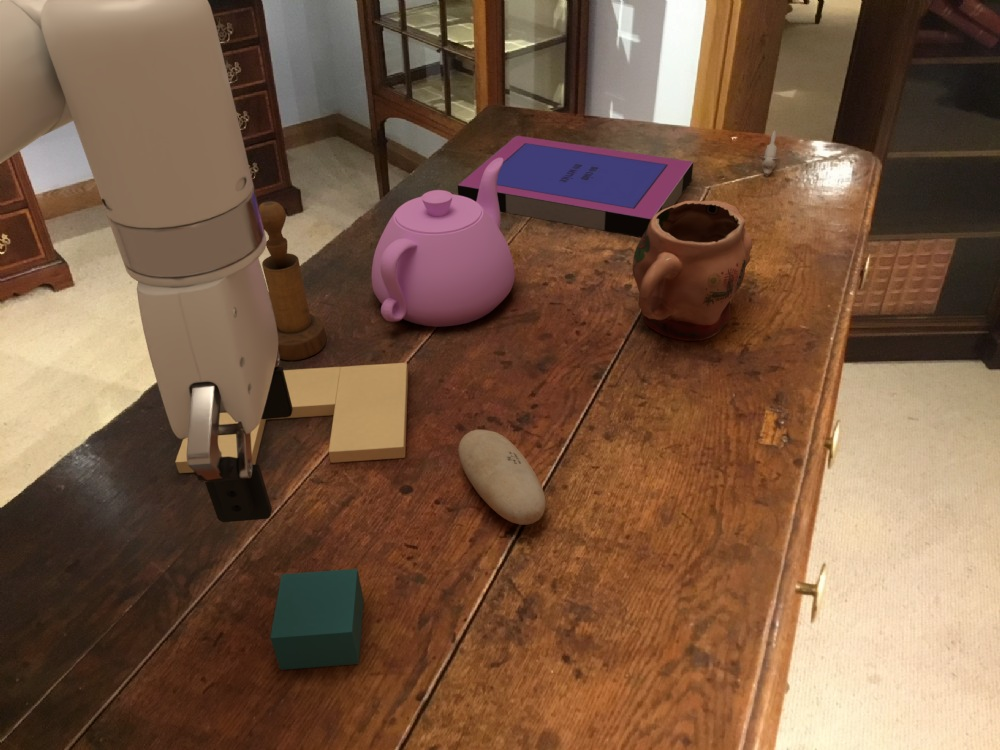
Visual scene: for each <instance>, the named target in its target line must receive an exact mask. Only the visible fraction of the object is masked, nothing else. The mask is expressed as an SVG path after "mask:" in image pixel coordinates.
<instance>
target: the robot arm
mask: <svg viewBox="0 0 1000 750" xmlns="http://www.w3.org/2000/svg"><path fill="white" fill-rule="evenodd" d="M221 45H222V44H221V41H220V38H219V33H218V28H217V25H216V21H215V18H214V14H213V10H212V7H211V4H210V2H209V0H0V165H1V164H2V163H4V162H5V161H7V160H8V159H9V158H11V157H13V156H14V155H16V154H17V153H18V152H19V153H20V151H22V150H23V149H24V148H26V147H27V146H29V145H30V144H33V142H35V141H37V140H38V139H39V138H41V137H43V136H46V135H47V134H49V133H51V132H54V131H55V130H58V129H60V128H62V127H63V126H66V125H68V124H70V123H72V122H73V124H74V126H75V129H76V133H77V135H78V138H79V140H80V143H81V146H82V148H83V151H84V154H85V157H86V160H87V163H88V166H89V169H90V171H91V174H92V176H93V179H94V183H95V186H96V188H97V191H98V194H99V197H100V199H101V202H102V206H103V208H104V211H105V214H106V218H107V221H108V223H109V226H110V229H111V231H112V232H111V233H112V235H113V238H114V240H115V243H116V245H117V248H118V251H119V254H120V257H121V260H122V262H123V265H124V268H125V271H126V273H127V274H128V275H129V277H130V278H131V279H132V280H135V281H136V282H137V285H136V294H137V302H138V308H139V314H140V315H139V316H140V320H141V324H142V330H143V331H142V332H143V335H144V338H145V343H146V348H147V351H148V355H149V359H150V363H151V367H152V370H153V373H154V377H155V380H156V384H157V387H158V390H159V394H160V397H161V400H162V403H163V406H164V410H165V413H166V416H167V419H168V423H169V425H170V428H171V430H172V432H173V434H174V435H175V436H176V438H178V439H179V440H183V439H185V438H188V443H187V463H188V465H189V466H190V467H191V468H192V469H193V470H194V471H195V472H193V473H194V475H195V476H196V477H197V479H198V481H199V482H200V481H201V483H205V487H206V490H207V493H208V495H209V498H210V501H211V504H212V506H213V509H214V511H215V514H216V518H217V520H218V521H219V522H221V523H233V522H234V523H235V522H246V521H256V520H257V521H258V520H267V519H269V518H271V515H272V510H273V507H272V504H271V501H270V497H269V493H268V490H267V487H266V483H265V481H264V477H263V473H262V470H261V467H260V464H255V465H253V464H252V448H251V432H252V431H253V430H254V429H255V428H256V427H257V426H258V424H259V423H260V421H261V419H268V420H274V419H273V418H283V419H287V418H286V417H289V416H291V414H292V410H293V407H292V403H291V399H290V395H289V391H288V387H287V383H286V379H285V375H284V371H283V370H284V368H283V366H279V365H280V364H281V363H280V362H281V359H280V354H279V350H278V333H277V327H276V322H275V316H274V312H273V308H272V303H271V299H270V295H269V291H268V287H267V283H266V279H265V275H264V271H263V267H262V264H261V262H260V257H261V256H262V255H263V253H264V251H266V248H267V247H266V244H267V236H266V231H265V230H264V227H263V223H262V219H261V215H260V210H259V206H260V205H259V202H258V197H257V194H256V189H255V185H254V182H253V177H252V173H251V169H250V165H249V160H248V156H247V152H246V147H245V142H244V139H243V135H242V130H241V126H240V121H239V118H238V114H237V109H236V105H235V101H234V97H233V92H232V89H231V84H230V80H229V75H228V72H227V67H226V63H225V59H224V55H223V50H222V49H223V48H222V46H221ZM220 413H228V414H229V415H230V416H231V417H232V418H233V419H234V420H235V421H236V422H238V423H235V424H222V425H219V418H220ZM232 434H236V443H237V458H235V457H229V456H228V457H222V452H221V451H220V450H219V446H218V436H219V435H232Z"/></svg>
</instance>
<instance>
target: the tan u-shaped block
mask: <svg viewBox="0 0 1000 750" xmlns="http://www.w3.org/2000/svg"><path fill="white" fill-rule="evenodd" d="M283 371H284V375H285V379H286V383H287V387H288V391H289V395H290V399H291V403H292V407H293V410H292V414H291V416H289V417H286V418H285V419H296V418H311V417H325V416H326V417H327V416H333V418H332V425H331V426H332V427H331V432H330V438H329V444H328V445H329V447H328V456H329V460H330V463H331V464H332V463H333V464H335V463H348V462H364V461H376V460H377V461H378V460H393V459H405V458H406V450H407V449H406V447H407V419H408V417H407V415H408V388H409V370H408V363H407V362H395V363H394V362H393V363H380V364H379V363H378V364H377V363H376V364H363V365H348V366H346V365H345V366H330V367H329V366H328V367H317V368H316V367H315V368H299V369H298V368H297V369H283ZM280 419H284V418H273V419H272V420H280ZM267 420H268V421H269V419H261V421H260V423H259V424H258V426H257V427H256V428H255V429H254V430H253V431H252V432H251V448H252V464H253V465H256V463H257V459H258V455H259V451H260V446H261V442H262V438H263V434H264V430H265V425H266V421H267ZM235 423H238V422H236V421H235V420H234V419H233V418H232V417H231V416H230V415H229V414H228V413H220V418H219V425H222V424H235ZM187 443H188V438H185V439H182V441H181V444H180V447H179V450H178V453H177V455H176V459H175V461H174V463H175V465H176V469H177V472H178V474H188V473H189V474H190V473H191V474H192V473H194V472H195V471H194V470H193V469H192V468H191V467H190V466H189V465H188V463H187ZM218 446H219V450H220V451H221V452H222V457H228V456H229V457H235V458H237V443H236V434H232V435H219V436H218Z"/></svg>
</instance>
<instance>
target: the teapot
mask: <svg viewBox="0 0 1000 750" xmlns="http://www.w3.org/2000/svg"><path fill="white" fill-rule="evenodd" d="M502 164H503V158H497V159H495V160H493V161H492V162H491V163H490V164H489V165H488V166H487V167H486V169H485V171H484V173H483V176H482V179H481V183H480V187H479V192H478V196H477V201H476V202H475V201H474V200H472V199H470V198H467V197H464V196H459V195H458V194H452V193H451V192H450V191H448V190H443V189H433V190H430V191H427V192H425V193H423V194H422V195H421V196H418V197H415V198H412V199H409V200H407V201H406V202H404V203H403V204H401V205H400V206H399V207H398V208H396V210H395V212H394V213H393V214H392V216H391V218H390V219H389V221H387V224H386V226H385V228H384V230H383V232H382V233H381V236H380V237H379V240H378V243H377V245H376V247H375V251H374V253H373V259H372V267H371V287H372V291H373V293H374V295H375V297H376V299H377V300H378V301H379V303H381V307H380V315H381V316H382V318H383V319H384V320H385V321H386V322H390V323H391V322H392V323H395V322H400V321H402V320H404V321H406V322H410V323H412V324H415V325H420V326H425V327H437V328H438V327H440V328H442V327H454V326H460V325H464V324H468V323H471V322H474V321H478V320H479V319H482V318H483V317H485V316H487V315H488V314H490V313H491V312H492V311H494V310H495V308H496V309H497V307H498V306H499V305H500V304H501V303H502V302H503V301H504V300H505V299H506V298H507V296H509V293H510V292H511V291H512V288H513V286H514V284H515V279H516V275H515V274H516V273H515V264H514V259H513V256H512V253H511V249H510V246H509V244H508V242H507V240H506V237H505V236H504V234H503V233H502V231H501V223H502V222H501V211H500V208H499V202H498V196H497V179H498V174H499V171H500V169H501V167H502Z"/></svg>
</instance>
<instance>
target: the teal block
mask: <svg viewBox="0 0 1000 750" xmlns="http://www.w3.org/2000/svg"><path fill="white" fill-rule="evenodd" d="M361 584H362V583H361V579H360V575H359V570H358V568H349V569H336V570H334V569H333V570H321V571H307V572H291V573H281V575H280V580H279V587H278V592H277V597H276V603H275V609H274V615H273V621H272V624H271V630H270V631H271V632H270V637H269V638H270V642H271V644H272V648H273V651H274V655H275V657H276V660H277V665H278V667H279V670H280V671H283V670H285V671H286V670H287V671H288V670H299V669H311V668H326V667H337V666H338V667H339V666H350V665H351V666H352V665H359V664H360V658H361V657H360V656H361V645H362V633H363V632H362V631H363V618H364V606H365V604H364V603H365V600H364V595H363V590H362V585H361Z"/></svg>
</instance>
